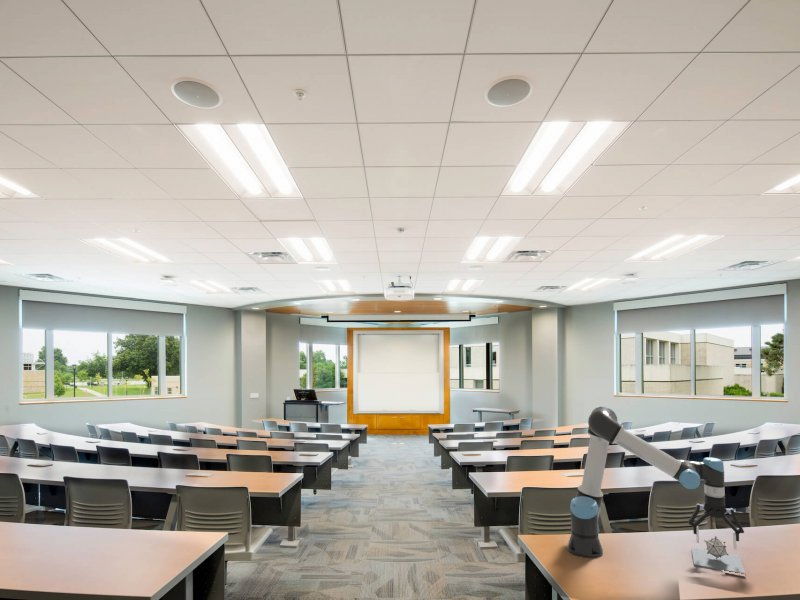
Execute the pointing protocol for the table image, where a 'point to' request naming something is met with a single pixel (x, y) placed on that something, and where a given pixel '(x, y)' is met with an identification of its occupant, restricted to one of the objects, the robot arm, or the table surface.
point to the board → (717, 561)
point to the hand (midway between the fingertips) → (716, 545)
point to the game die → (716, 547)
